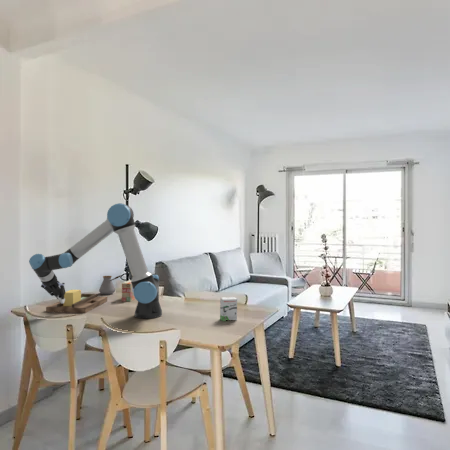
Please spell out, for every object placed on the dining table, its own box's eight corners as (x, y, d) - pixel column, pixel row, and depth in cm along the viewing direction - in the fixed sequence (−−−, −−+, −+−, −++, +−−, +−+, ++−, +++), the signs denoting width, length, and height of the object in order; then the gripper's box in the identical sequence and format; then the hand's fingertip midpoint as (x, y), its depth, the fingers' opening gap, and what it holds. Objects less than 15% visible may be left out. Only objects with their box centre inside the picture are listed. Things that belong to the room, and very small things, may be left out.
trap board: (107, 301, 254) (107, 294, 254) (85, 312, 222) (85, 304, 222) (72, 300, 256) (72, 293, 256) (46, 312, 225) (46, 303, 225)
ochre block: (81, 302, 236) (80, 289, 236) (73, 306, 226) (73, 292, 226) (71, 302, 237) (71, 289, 237) (63, 306, 227) (63, 292, 227)
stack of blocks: (134, 295, 276) (134, 278, 276) (142, 295, 275) (142, 278, 275) (121, 301, 255) (121, 282, 255) (130, 301, 254) (130, 283, 254)
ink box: (221, 321, 204) (221, 299, 204) (219, 319, 209) (219, 297, 209) (237, 320, 206) (237, 298, 206) (235, 318, 211) (235, 296, 211)
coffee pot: (95, 294, 279) (95, 273, 278) (108, 291, 288) (108, 271, 288) (115, 297, 267) (115, 276, 267) (128, 294, 277) (128, 274, 277)
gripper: (32, 282, 202) (50, 306, 219) (56, 282, 201) (71, 307, 218) (38, 271, 208) (54, 295, 224) (61, 271, 207) (76, 296, 223)
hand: (63, 301), depth 221 cm, fingers closed
